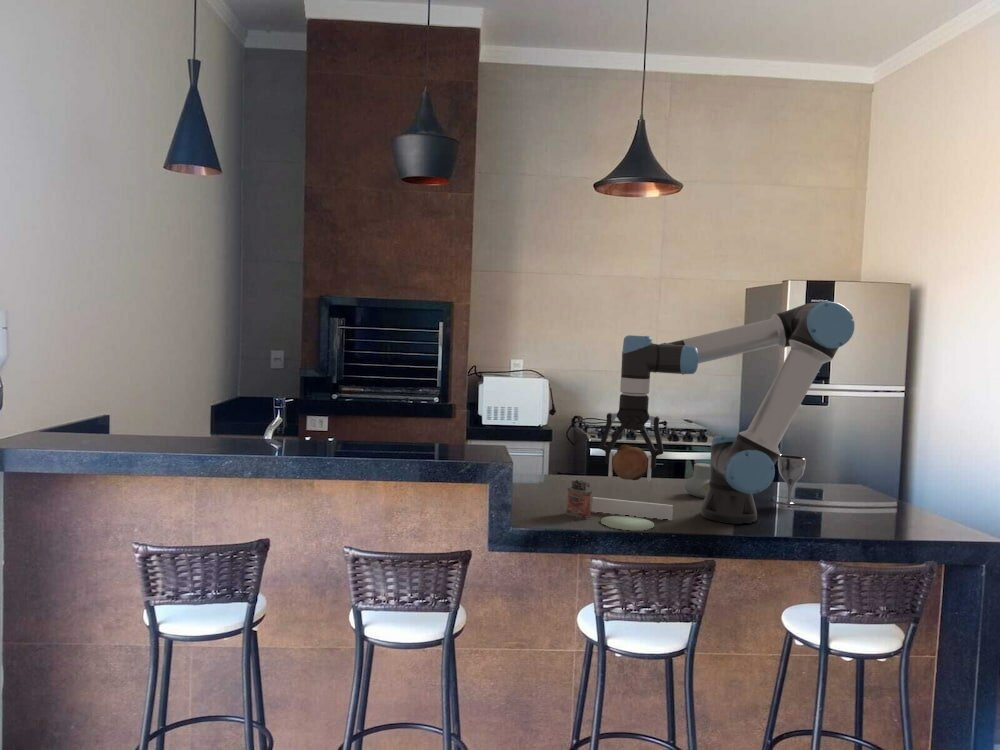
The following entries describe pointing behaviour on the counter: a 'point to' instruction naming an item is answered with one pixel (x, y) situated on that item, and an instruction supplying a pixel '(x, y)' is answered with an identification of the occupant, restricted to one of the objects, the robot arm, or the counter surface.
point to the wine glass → (791, 470)
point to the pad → (627, 523)
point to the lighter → (579, 499)
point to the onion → (630, 462)
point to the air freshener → (699, 480)
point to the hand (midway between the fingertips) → (629, 478)
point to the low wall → (632, 508)
